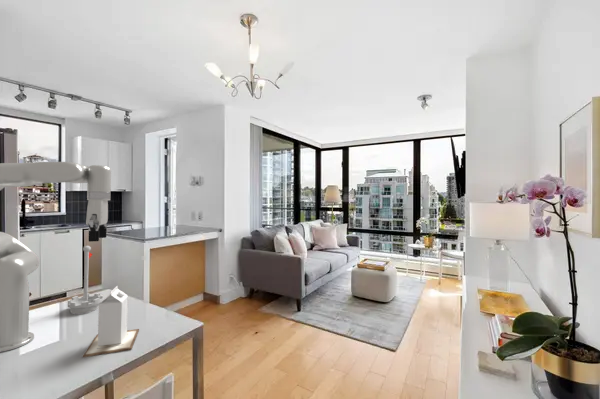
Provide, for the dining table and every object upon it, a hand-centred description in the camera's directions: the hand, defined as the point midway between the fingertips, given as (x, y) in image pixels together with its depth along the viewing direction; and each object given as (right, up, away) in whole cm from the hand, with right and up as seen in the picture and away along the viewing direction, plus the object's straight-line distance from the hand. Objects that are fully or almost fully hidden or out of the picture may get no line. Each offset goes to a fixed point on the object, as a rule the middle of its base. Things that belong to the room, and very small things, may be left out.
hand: (97, 239), depth 109 cm
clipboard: (+12, -37, -9) cm, 40 cm away
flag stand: (-21, -36, +20) cm, 46 cm away
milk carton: (+12, -36, -9) cm, 39 cm away
